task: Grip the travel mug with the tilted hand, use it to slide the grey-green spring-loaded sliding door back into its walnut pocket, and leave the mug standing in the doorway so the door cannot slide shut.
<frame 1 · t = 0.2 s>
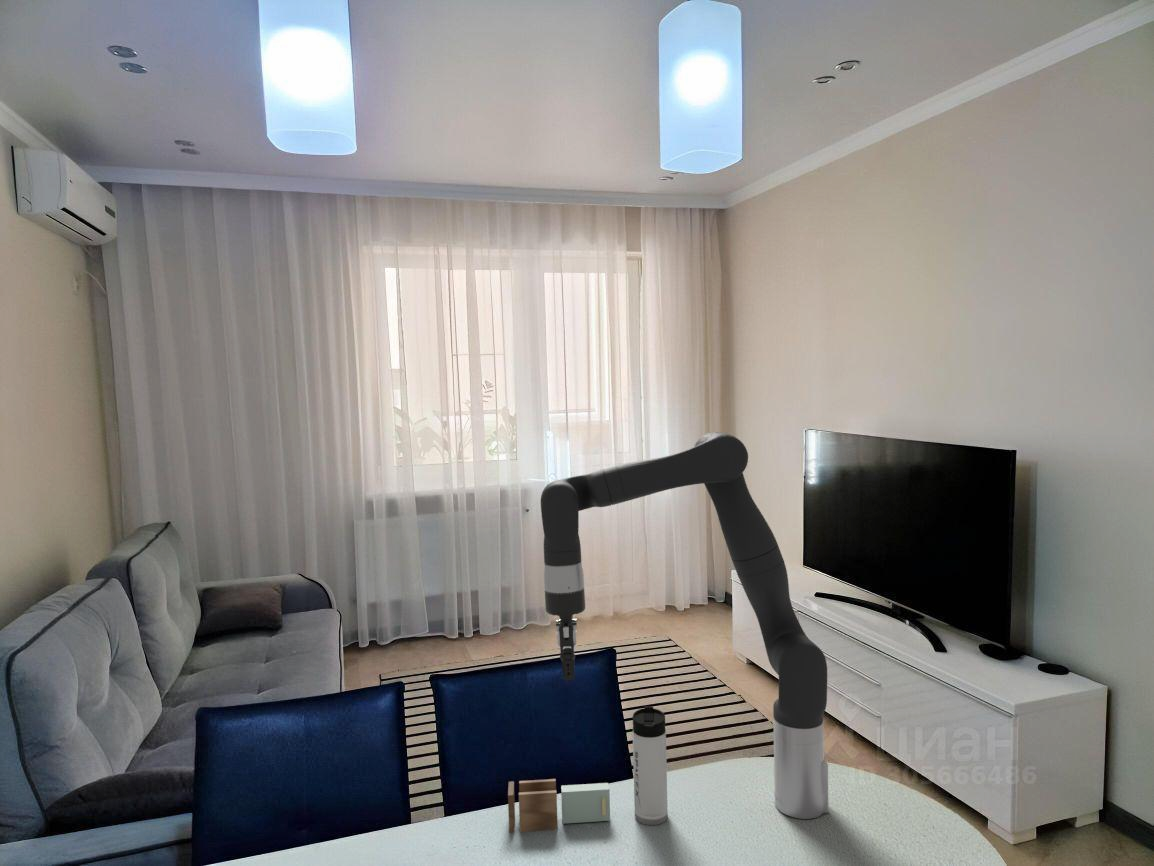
hand: (569, 671, 139), 28 cm above the table, tool pointing down, fingers open, 8 cm apart
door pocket: (535, 823, 138), on the table
travel mug: (651, 817, 140), on the table
door: (585, 803, 139), point 3 cm above the table, slide at 0.0 cm
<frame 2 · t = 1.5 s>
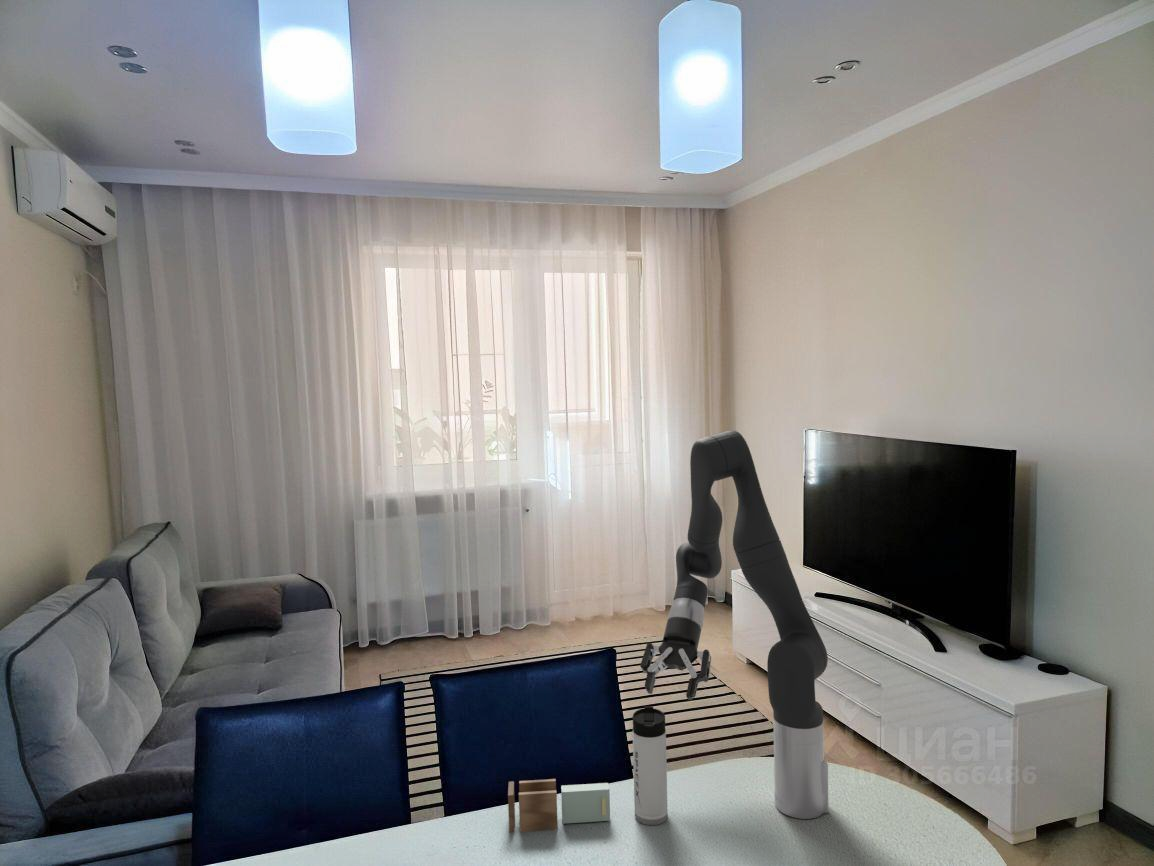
hand: (668, 695, 149), 19 cm above the table, tool tilted 45°, fingers open, 8 cm apart
nothing on the table moved.
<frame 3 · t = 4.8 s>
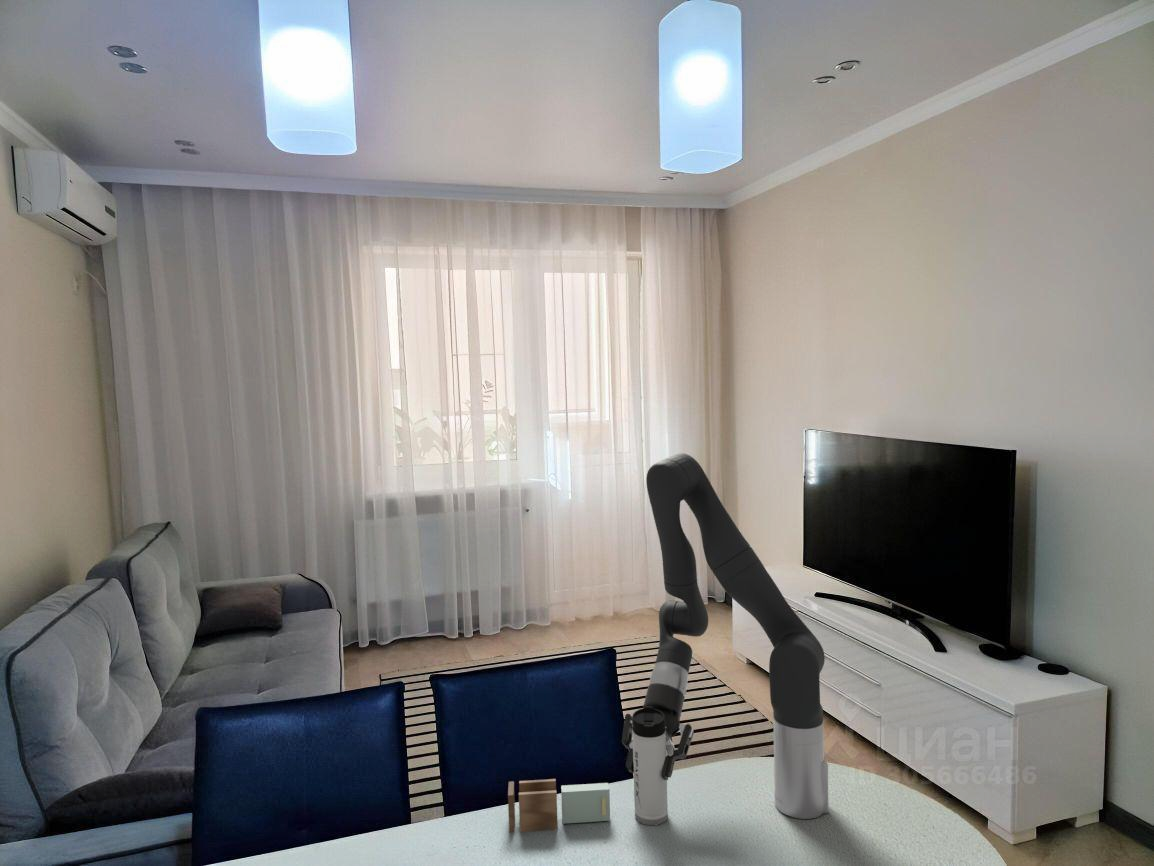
hand: (647, 774, 138), 9 cm above the table, tool tilted 45°, fingers closed on travel mug, 6 cm apart
travel mug: (651, 817, 140), on the table, touching gripper
everything else where it was.
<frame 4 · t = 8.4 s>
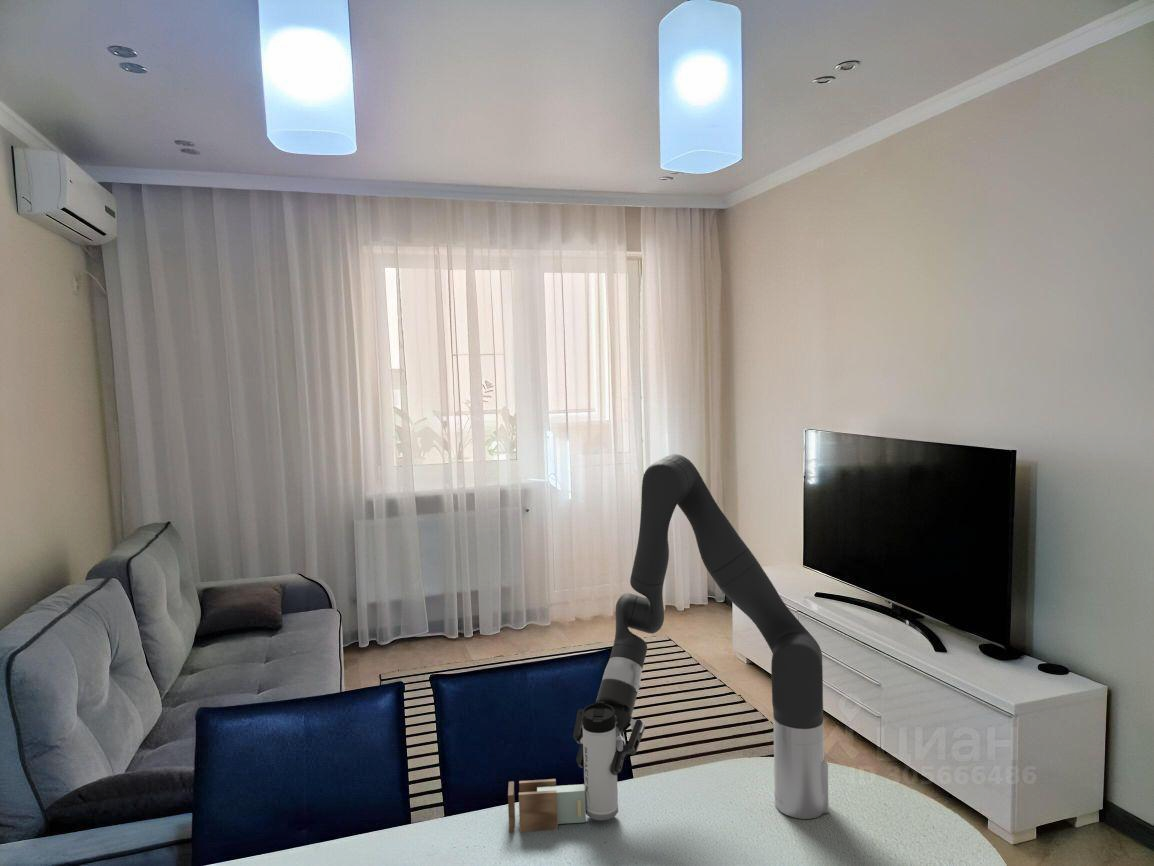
hand: (597, 769, 138), 10 cm above the table, tool tilted 45°, fingers closed on travel mug, 6 cm apart
travel mug: (601, 812, 140), point 1 cm above the table, touching door, gripper
door: (561, 805, 138), point 3 cm above the table, slide at 4.6 cm, touching travel mug
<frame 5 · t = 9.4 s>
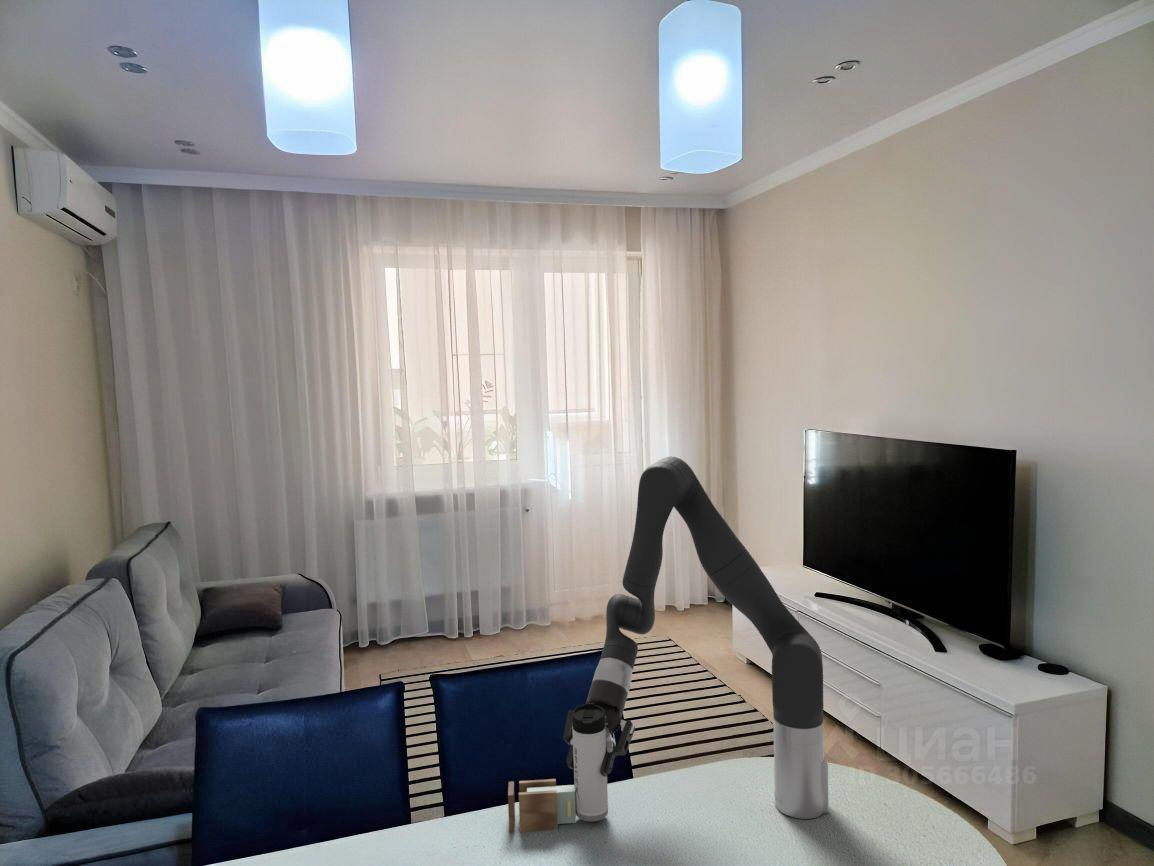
hand: (587, 771, 137), 10 cm above the table, tool tilted 45°, fingers closed on travel mug, 6 cm apart
travel mug: (591, 813, 139), point 1 cm above the table, touching door, gripper
door: (551, 805, 138), point 3 cm above the table, slide at 6.5 cm, touching travel mug
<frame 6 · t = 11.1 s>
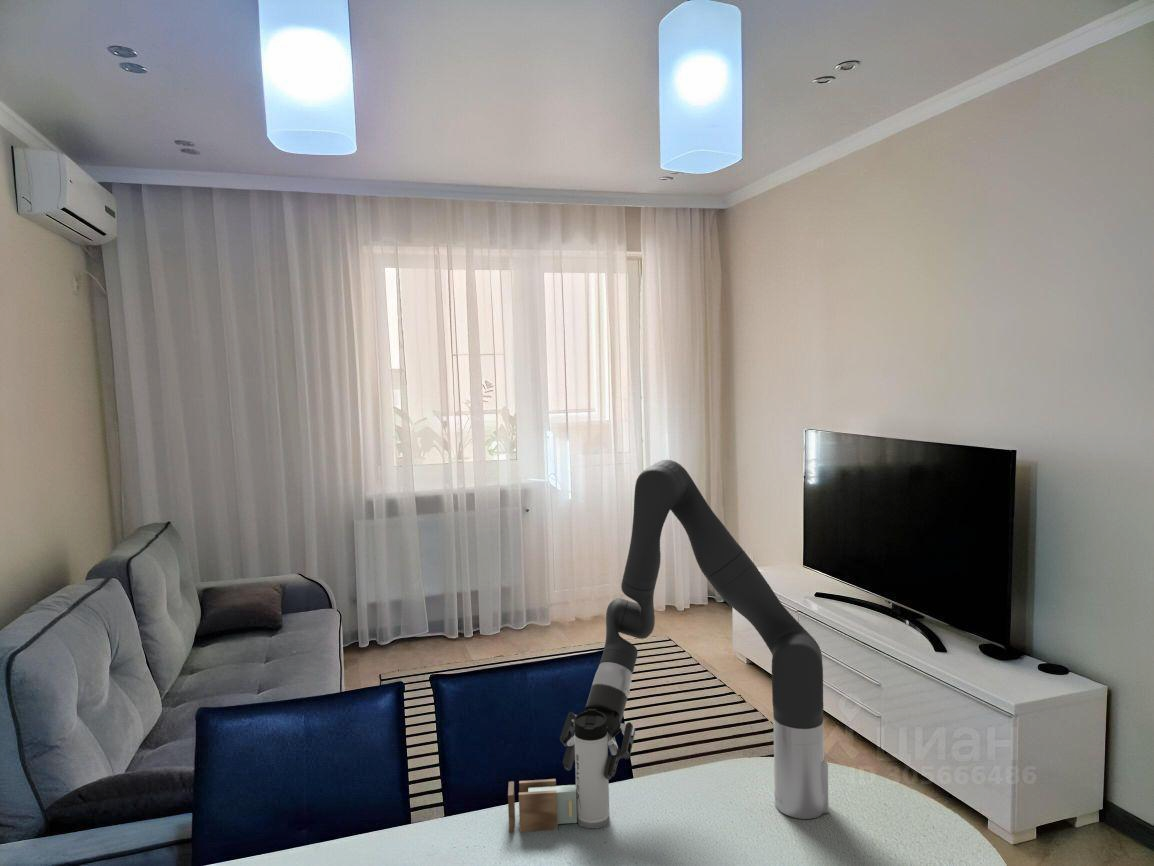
hand: (586, 773, 138), 10 cm above the table, tool tilted 45°, fingers open, 8 cm apart
everything else where it was.
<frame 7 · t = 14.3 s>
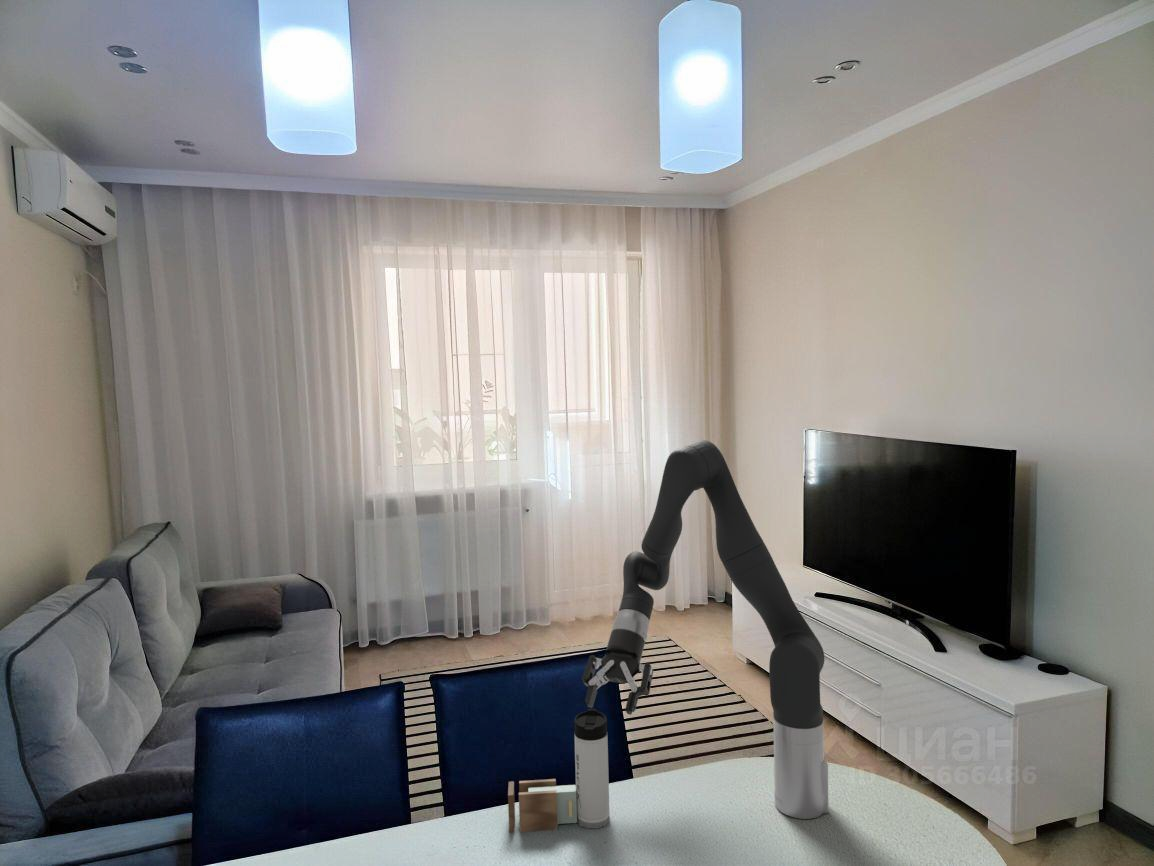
hand: (608, 709, 147), 18 cm above the table, tool tilted 45°, fingers open, 8 cm apart
nothing on the table moved.
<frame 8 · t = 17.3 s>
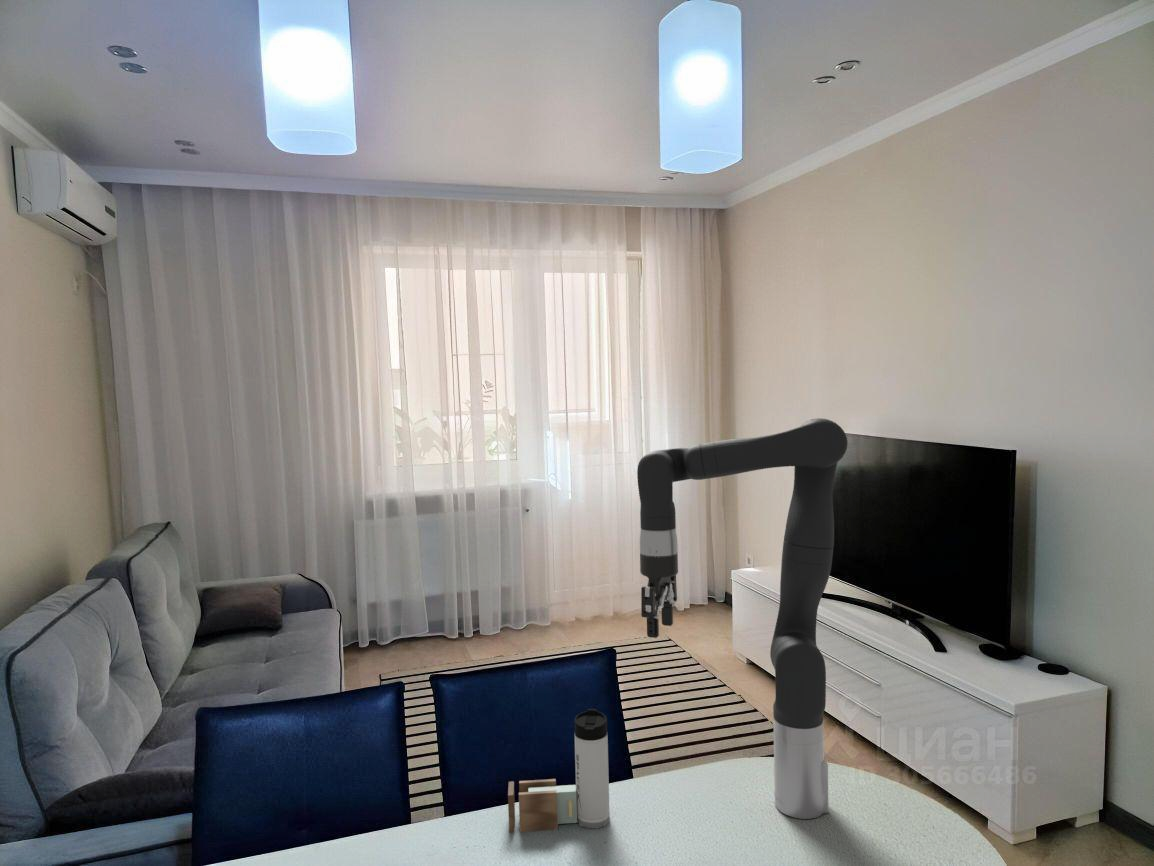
hand: (660, 630, 147), 33 cm above the table, tool pointing down, fingers open, 8 cm apart
nothing on the table moved.
at the end: door slide at 6.3 cm; travel mug 1.1 cm from the target spot, on the table; travel mug tilted 0° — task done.
